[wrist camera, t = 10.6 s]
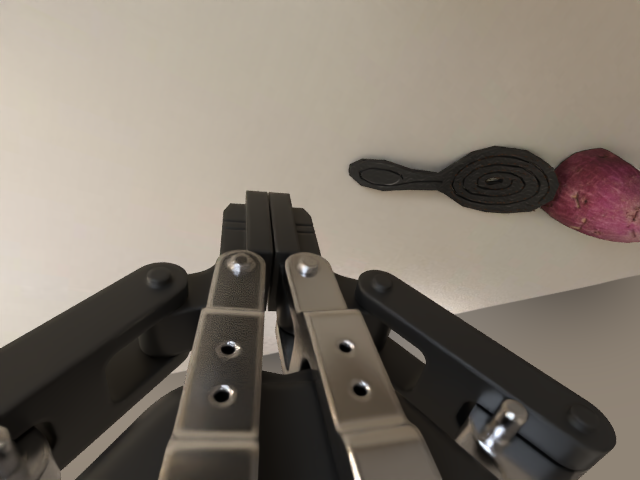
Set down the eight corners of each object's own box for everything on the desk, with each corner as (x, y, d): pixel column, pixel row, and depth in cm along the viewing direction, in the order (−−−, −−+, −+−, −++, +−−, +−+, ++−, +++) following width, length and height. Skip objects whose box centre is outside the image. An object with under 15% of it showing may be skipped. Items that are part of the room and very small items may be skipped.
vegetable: (595, 128, 49) (749, 146, 36) (601, 197, 54) (737, 234, 41) (529, 169, 48) (663, 203, 35) (541, 235, 53) (662, 286, 40)
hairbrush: (361, 142, 39) (579, 164, 43) (354, 129, 42) (559, 151, 46) (346, 213, 43) (544, 227, 48) (341, 197, 46) (527, 211, 51)
